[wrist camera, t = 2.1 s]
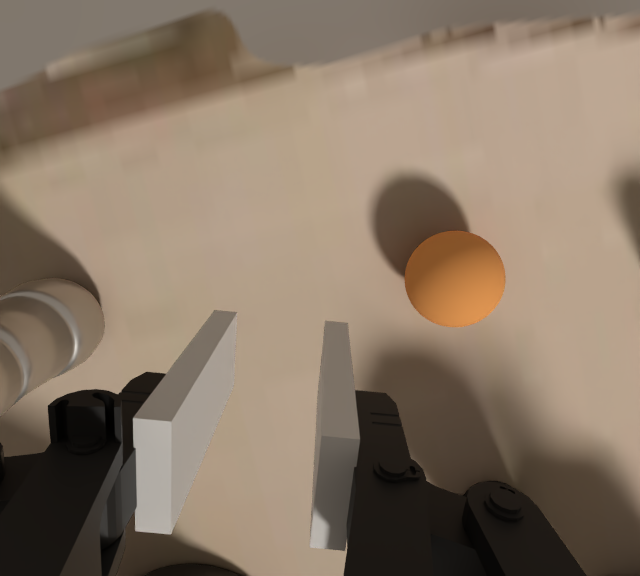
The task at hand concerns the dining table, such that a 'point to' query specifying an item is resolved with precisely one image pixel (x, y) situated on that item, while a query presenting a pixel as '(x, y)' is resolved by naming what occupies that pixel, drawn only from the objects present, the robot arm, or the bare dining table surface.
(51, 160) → the dining table surface
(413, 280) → the ball
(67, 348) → the plastic bottle
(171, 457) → the robot arm
